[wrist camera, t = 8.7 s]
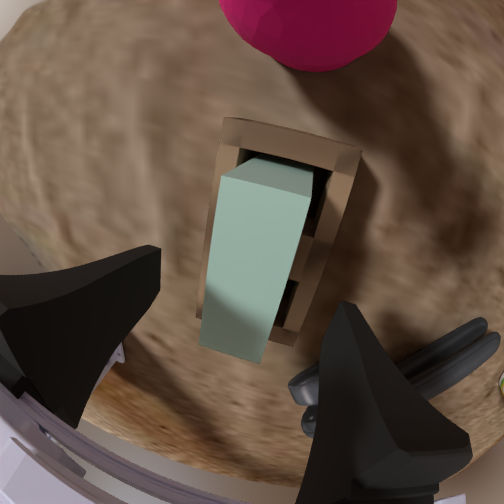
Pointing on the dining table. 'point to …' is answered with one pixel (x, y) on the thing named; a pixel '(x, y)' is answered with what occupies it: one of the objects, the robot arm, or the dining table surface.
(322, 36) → the pepper mill
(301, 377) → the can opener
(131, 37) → the dining table surface
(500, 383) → the supplement bottle
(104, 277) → the robot arm
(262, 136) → the brown wooden frame
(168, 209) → the dining table surface
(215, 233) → the mint green foam block
